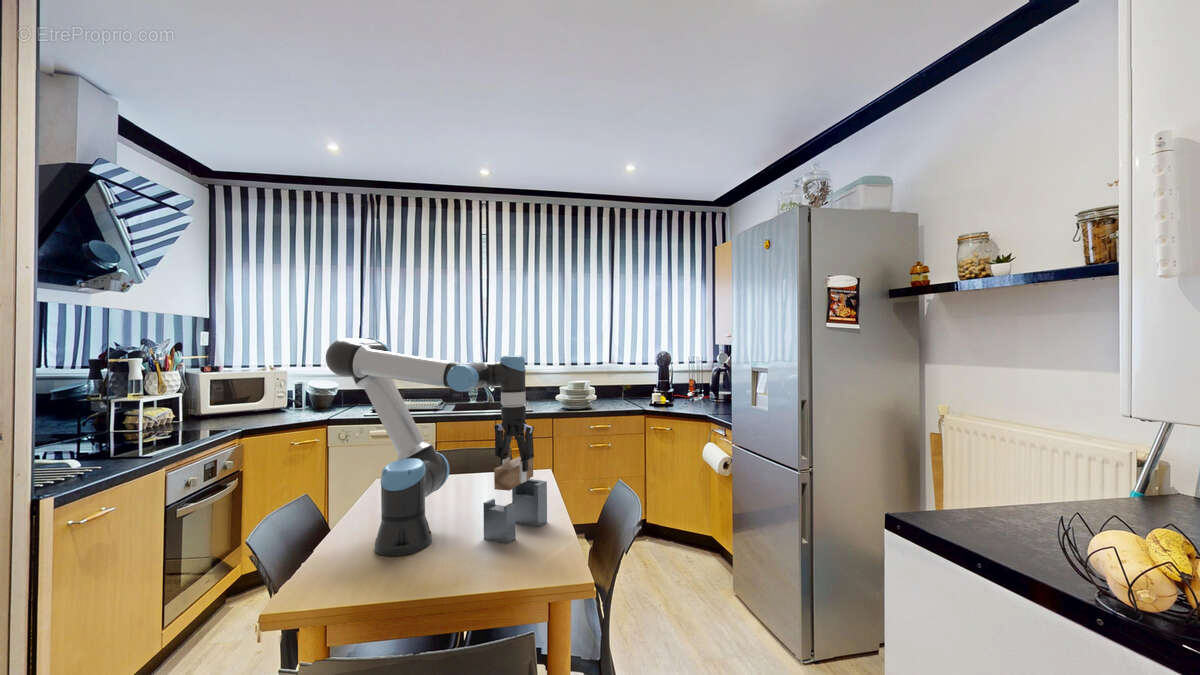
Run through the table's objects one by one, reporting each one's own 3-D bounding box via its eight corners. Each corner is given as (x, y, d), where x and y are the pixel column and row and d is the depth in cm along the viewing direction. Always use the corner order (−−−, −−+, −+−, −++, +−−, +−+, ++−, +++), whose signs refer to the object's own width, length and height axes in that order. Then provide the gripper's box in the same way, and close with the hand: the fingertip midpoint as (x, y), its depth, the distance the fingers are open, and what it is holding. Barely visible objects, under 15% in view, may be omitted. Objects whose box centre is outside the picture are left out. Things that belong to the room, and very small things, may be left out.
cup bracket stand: (481, 538, 143) (481, 493, 143) (521, 517, 160) (521, 477, 160) (508, 544, 138) (508, 498, 139) (547, 522, 156) (546, 481, 156)
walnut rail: (494, 489, 143) (494, 468, 143) (519, 475, 158) (518, 456, 158) (509, 490, 141) (509, 469, 141) (533, 476, 157) (533, 457, 157)
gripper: (545, 405, 149) (546, 481, 149) (497, 403, 158) (498, 474, 157) (531, 408, 142) (532, 487, 142) (481, 405, 151) (482, 480, 150)
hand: (514, 480), depth 150 cm, fingers closed on walnut rail, 6 cm apart
